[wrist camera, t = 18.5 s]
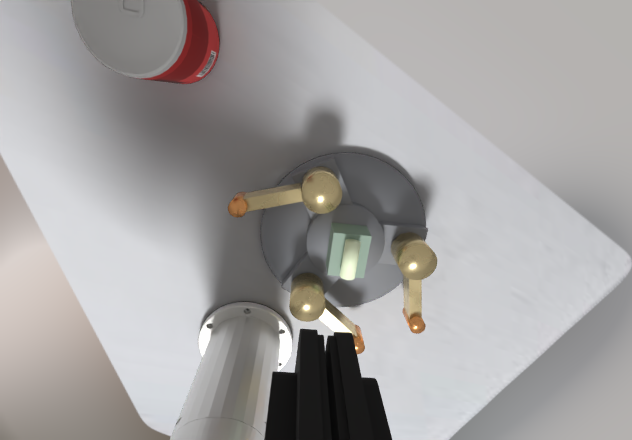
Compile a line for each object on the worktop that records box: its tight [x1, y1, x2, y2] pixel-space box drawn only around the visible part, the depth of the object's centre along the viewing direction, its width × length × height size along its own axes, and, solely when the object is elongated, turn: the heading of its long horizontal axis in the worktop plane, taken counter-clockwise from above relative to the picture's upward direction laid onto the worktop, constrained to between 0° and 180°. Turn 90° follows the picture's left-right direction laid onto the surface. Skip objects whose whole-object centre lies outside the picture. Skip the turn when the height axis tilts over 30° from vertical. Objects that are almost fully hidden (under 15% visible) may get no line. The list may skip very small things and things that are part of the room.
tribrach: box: [261, 153, 428, 307], centre depth 37 cm, size 20×20×8 cm
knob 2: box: [289, 273, 365, 354], centre depth 40 cm, size 12×4×4 cm, turn 43°
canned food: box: [71, 0, 219, 84], centre depth 28 cm, size 8×8×11 cm
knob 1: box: [228, 166, 342, 217], centre depth 34 cm, size 12×4×4 cm, turn 100°
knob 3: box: [391, 232, 437, 333], centre depth 38 cm, size 12×4×4 cm, turn 6°
